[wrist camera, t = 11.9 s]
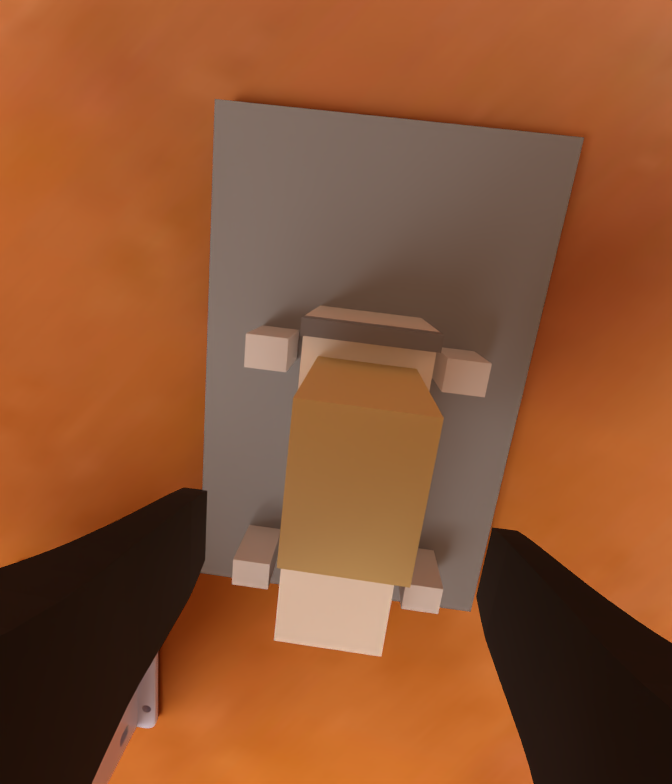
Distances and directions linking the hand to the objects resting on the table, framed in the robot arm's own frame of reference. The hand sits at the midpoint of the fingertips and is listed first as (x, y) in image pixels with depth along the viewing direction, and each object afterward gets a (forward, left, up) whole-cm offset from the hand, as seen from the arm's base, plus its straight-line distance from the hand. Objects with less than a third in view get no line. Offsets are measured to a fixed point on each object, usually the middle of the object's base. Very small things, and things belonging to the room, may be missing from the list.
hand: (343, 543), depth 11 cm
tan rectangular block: (+2, 0, -3) cm, 4 cm away
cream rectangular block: (-1, 0, -8) cm, 8 cm away
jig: (+2, 0, -9) cm, 9 cm away
